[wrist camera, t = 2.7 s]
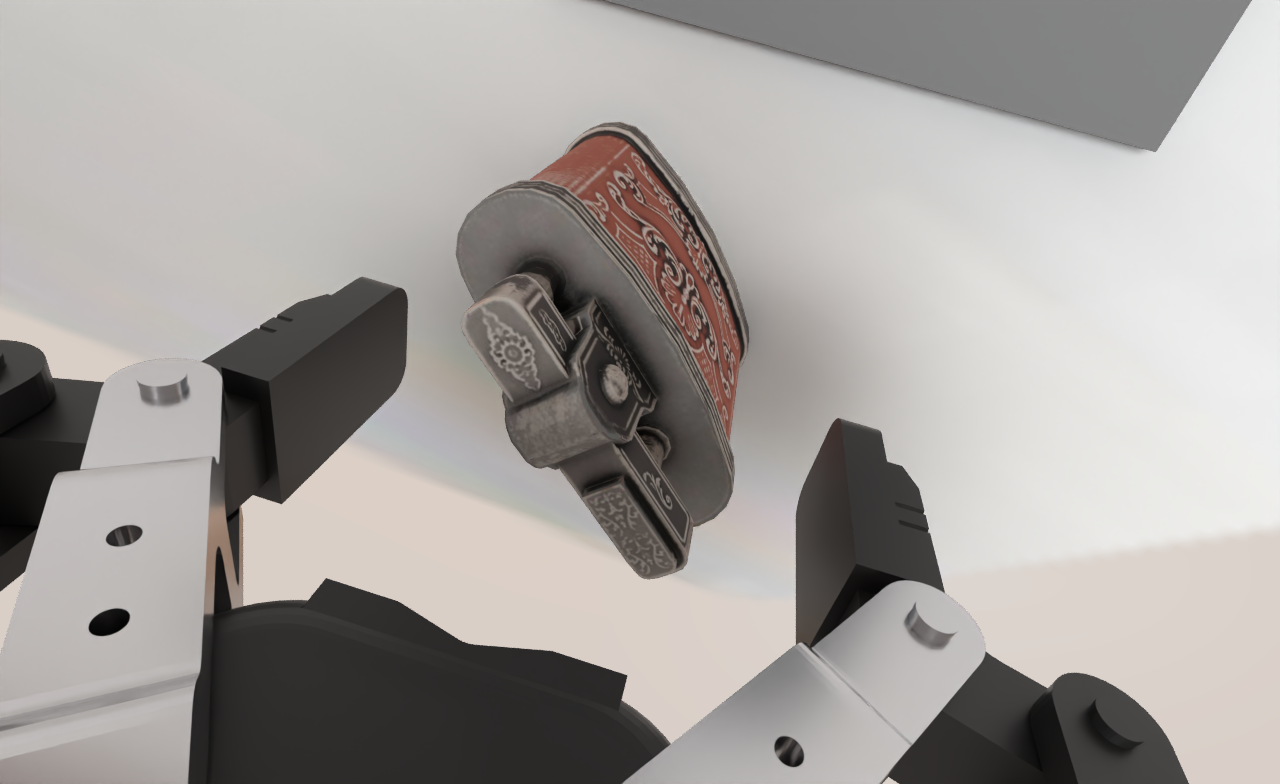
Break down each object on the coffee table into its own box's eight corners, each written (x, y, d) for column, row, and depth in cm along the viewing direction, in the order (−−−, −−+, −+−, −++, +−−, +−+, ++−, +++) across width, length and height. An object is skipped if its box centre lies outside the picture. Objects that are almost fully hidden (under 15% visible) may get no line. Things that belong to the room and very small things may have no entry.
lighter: (540, 159, 19) (338, 292, 10) (642, 95, 17) (507, 188, 9) (677, 386, 22) (607, 636, 13) (773, 346, 20) (764, 596, 12)
